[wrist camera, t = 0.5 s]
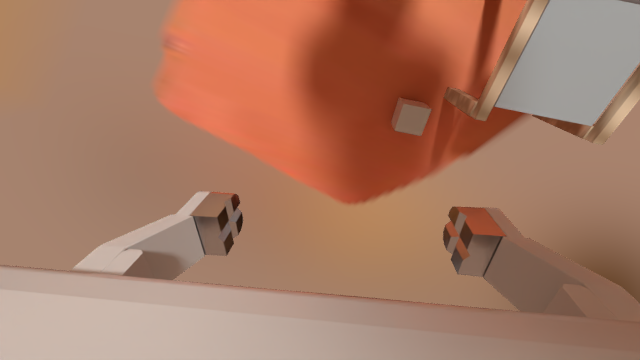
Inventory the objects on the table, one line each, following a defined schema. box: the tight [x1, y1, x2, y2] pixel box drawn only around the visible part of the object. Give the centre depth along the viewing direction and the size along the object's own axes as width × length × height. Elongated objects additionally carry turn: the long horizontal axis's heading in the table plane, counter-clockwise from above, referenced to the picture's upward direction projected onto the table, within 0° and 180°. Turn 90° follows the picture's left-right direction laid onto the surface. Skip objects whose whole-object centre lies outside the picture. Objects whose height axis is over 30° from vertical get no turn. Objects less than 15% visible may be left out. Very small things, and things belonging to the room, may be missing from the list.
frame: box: [444, 0, 640, 145], centre depth 37 cm, size 18×19×14 cm
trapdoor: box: [494, 0, 640, 126], centre depth 32 cm, size 18×14×2 cm
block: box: [391, 98, 432, 136], centre depth 48 cm, size 5×5×5 cm
